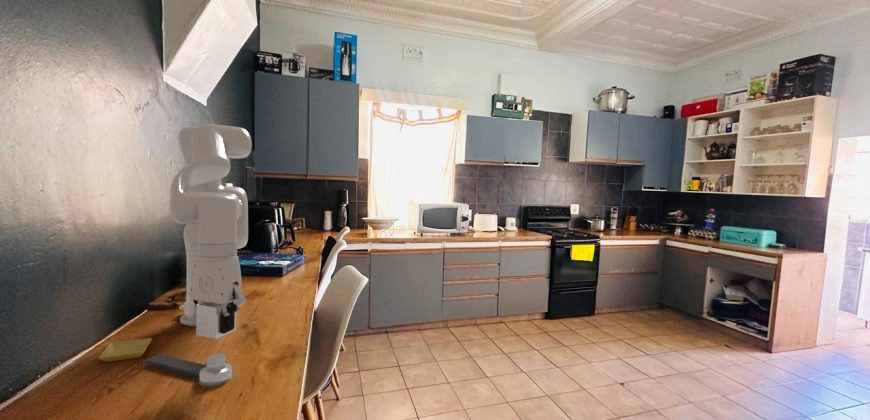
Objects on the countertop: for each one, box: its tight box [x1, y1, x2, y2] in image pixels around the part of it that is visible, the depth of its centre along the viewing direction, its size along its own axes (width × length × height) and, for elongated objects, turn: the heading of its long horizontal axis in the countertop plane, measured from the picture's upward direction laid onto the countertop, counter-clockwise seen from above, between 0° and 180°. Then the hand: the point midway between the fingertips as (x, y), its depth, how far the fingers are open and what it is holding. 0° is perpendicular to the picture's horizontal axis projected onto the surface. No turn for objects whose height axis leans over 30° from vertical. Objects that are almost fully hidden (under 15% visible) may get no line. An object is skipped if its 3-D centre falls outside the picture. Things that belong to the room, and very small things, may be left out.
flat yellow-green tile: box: [98, 337, 153, 363], centre depth 90 cm, size 9×9×2 cm
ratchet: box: [145, 352, 233, 388], centre depth 84 cm, size 22×6×5 cm, turn 75°
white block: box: [195, 299, 237, 340], centre depth 80 cm, size 5×5×7 cm
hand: (216, 328), depth 81 cm, fingers closed on white block, 5 cm apart
